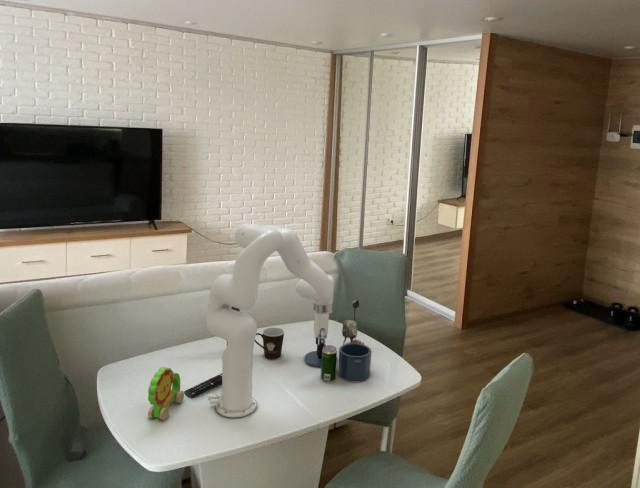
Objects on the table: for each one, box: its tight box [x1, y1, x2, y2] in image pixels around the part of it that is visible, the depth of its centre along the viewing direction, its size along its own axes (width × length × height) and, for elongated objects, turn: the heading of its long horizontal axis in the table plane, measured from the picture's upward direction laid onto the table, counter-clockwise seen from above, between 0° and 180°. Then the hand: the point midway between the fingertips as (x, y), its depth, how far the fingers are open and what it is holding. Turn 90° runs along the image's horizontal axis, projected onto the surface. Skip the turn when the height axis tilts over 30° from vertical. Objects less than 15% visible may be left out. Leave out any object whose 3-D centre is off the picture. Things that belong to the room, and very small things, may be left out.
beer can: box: [320, 344, 338, 384], centre depth 190 cm, size 5×5×12 cm
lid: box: [303, 350, 338, 368], centre depth 205 cm, size 13×13×7 cm
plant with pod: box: [341, 298, 365, 346], centre depth 217 cm, size 8×11×20 cm
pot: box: [337, 341, 372, 383], centre depth 195 cm, size 12×17×10 cm
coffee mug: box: [254, 327, 285, 361], centre depth 207 cm, size 12×9×10 cm
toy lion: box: [147, 366, 185, 421], centre depth 164 cm, size 16×6×15 cm, turn 170°
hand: (320, 349), depth 204 cm, fingers open, 9 cm apart
